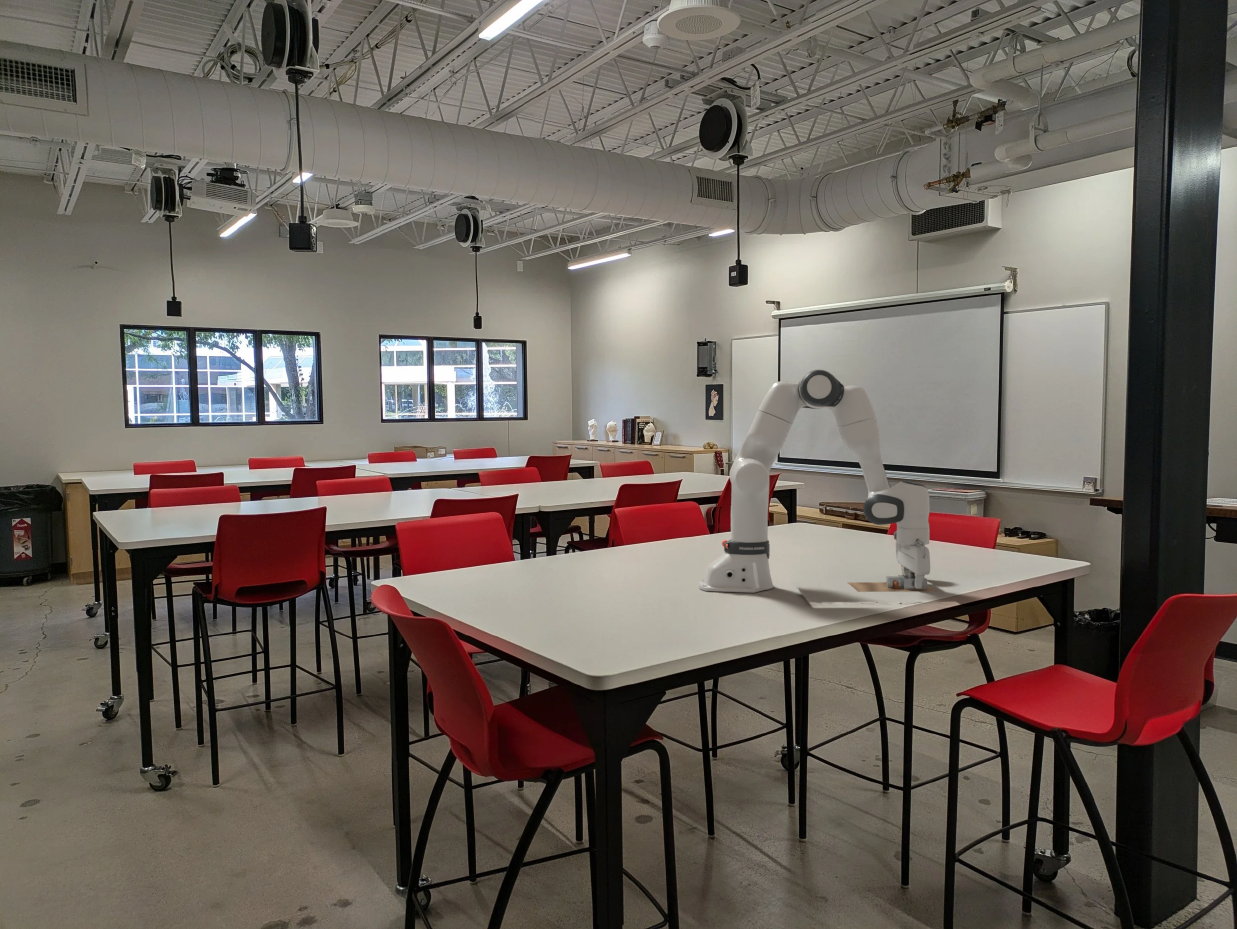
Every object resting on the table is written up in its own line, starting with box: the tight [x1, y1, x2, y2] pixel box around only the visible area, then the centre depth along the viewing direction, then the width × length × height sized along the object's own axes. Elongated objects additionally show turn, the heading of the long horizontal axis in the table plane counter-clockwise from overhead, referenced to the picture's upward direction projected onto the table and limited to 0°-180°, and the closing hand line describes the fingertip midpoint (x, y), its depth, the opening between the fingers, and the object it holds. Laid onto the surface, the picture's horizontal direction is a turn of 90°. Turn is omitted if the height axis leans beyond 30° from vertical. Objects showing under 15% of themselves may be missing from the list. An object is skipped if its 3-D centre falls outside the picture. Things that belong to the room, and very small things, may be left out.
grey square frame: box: [885, 574, 928, 590], centre depth 235 cm, size 10×6×3 cm, turn 86°
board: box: [847, 572, 937, 593], centre depth 236 cm, size 22×13×6 cm, turn 87°
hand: (912, 584), depth 235 cm, fingers open, 8 cm apart
